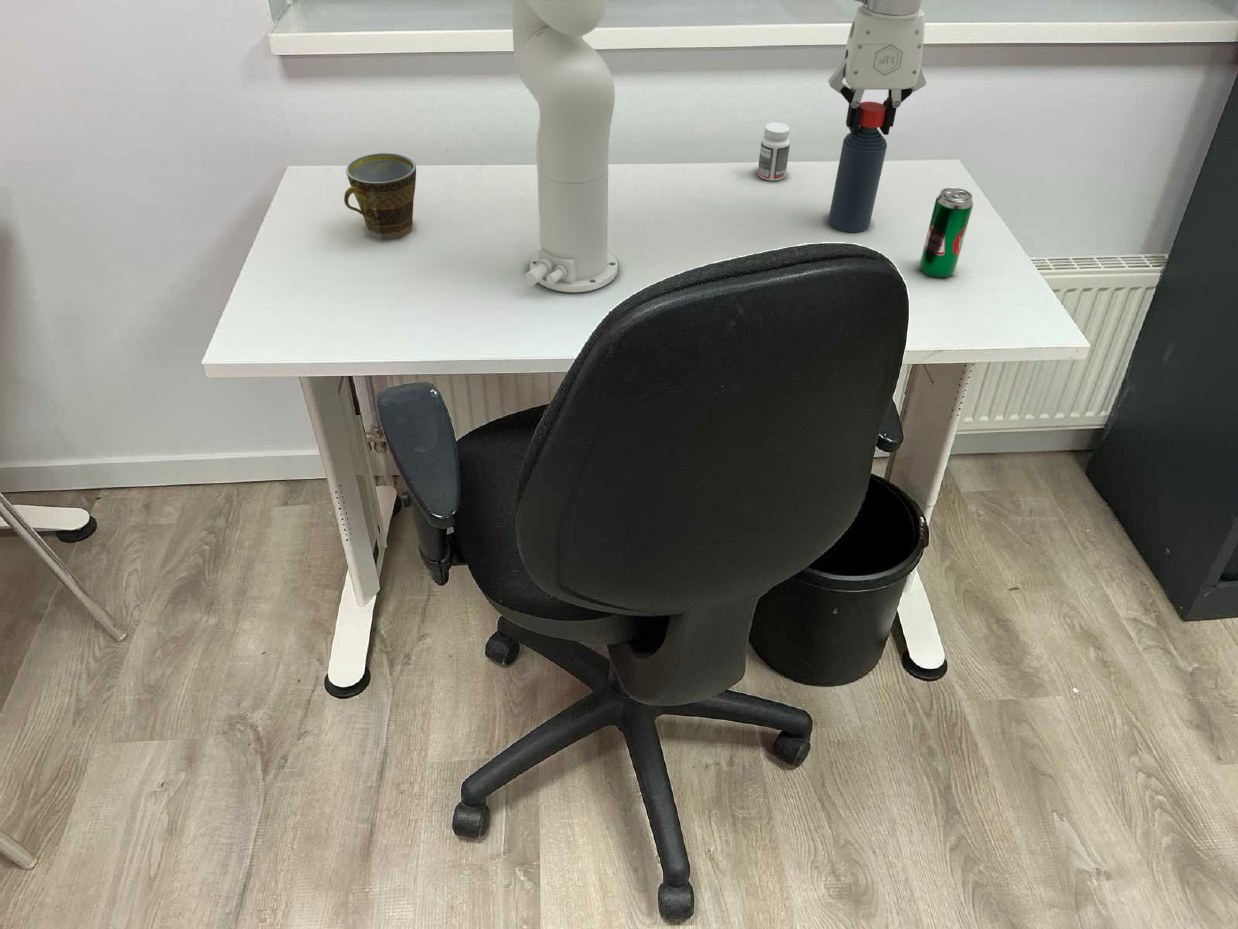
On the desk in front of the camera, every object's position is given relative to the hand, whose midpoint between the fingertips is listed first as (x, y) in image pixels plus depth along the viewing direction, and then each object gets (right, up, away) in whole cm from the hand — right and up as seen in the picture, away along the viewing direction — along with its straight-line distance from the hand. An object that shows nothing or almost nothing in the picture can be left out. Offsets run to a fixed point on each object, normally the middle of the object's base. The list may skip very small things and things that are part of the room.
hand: (868, 129), depth 146 cm
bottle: (-1, -11, +10) cm, 15 cm away
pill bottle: (-11, 0, +22) cm, 24 cm away
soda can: (+10, -21, 0) cm, 23 cm away
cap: (0, +2, -2) cm, 3 cm away
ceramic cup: (-72, -14, +4) cm, 74 cm away
